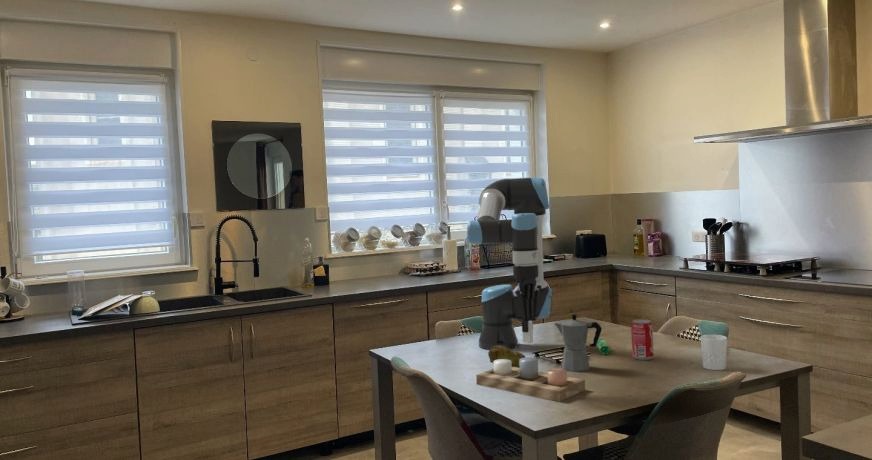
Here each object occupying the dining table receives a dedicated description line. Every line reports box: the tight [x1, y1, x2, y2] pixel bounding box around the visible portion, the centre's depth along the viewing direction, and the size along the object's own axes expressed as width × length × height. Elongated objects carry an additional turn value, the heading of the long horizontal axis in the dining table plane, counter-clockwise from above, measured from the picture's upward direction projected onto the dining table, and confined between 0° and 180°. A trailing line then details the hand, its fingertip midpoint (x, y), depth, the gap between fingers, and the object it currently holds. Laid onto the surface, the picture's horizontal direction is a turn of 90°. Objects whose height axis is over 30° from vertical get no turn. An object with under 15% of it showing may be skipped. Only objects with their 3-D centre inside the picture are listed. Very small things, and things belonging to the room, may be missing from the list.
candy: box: [596, 338, 611, 356], centre depth 243 cm, size 12×3×4 cm
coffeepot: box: [554, 313, 603, 372], centre depth 220 cm, size 15×9×18 cm, turn 68°
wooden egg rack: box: [475, 367, 586, 403], centre depth 201 cm, size 30×14×3 cm, turn 47°
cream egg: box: [492, 359, 512, 376], centre depth 208 cm, size 6×6×5 cm
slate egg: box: [519, 356, 539, 378], centre depth 201 cm, size 6×6×5 cm
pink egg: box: [546, 368, 568, 387], centre depth 194 cm, size 6×6×5 cm
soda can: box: [630, 318, 655, 361], centre depth 230 cm, size 7×7×13 cm
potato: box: [487, 346, 526, 368], centre depth 223 cm, size 8×13×8 cm, turn 89°
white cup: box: [700, 334, 728, 371], centre depth 215 cm, size 8×8×10 cm
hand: (528, 342), depth 201 cm, fingers closed
